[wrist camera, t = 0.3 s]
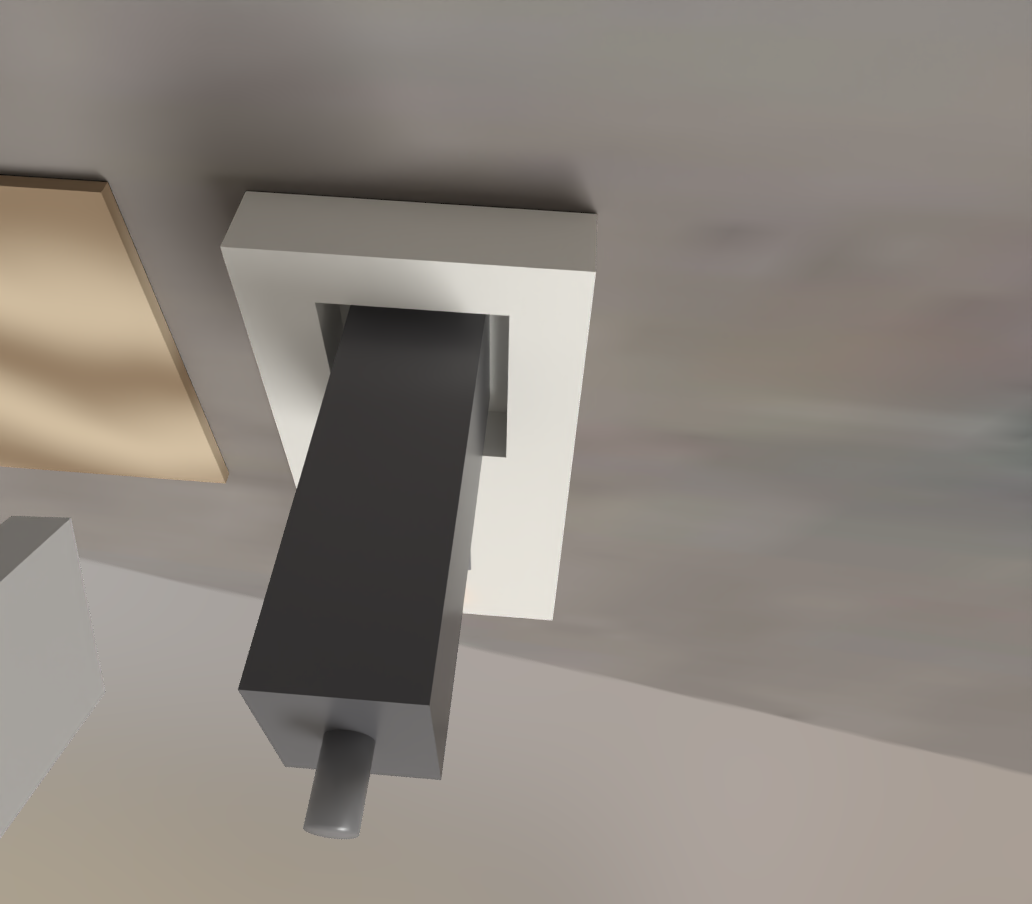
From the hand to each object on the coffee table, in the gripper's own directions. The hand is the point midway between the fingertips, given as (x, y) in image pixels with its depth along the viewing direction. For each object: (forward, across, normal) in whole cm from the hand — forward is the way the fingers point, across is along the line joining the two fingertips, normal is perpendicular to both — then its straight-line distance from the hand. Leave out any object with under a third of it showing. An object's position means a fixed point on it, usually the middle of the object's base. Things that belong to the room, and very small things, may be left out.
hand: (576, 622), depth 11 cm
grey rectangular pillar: (+17, -4, -1) cm, 18 cm away
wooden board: (+19, -18, -2) cm, 26 cm away
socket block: (+20, -4, -5) cm, 21 cm away
